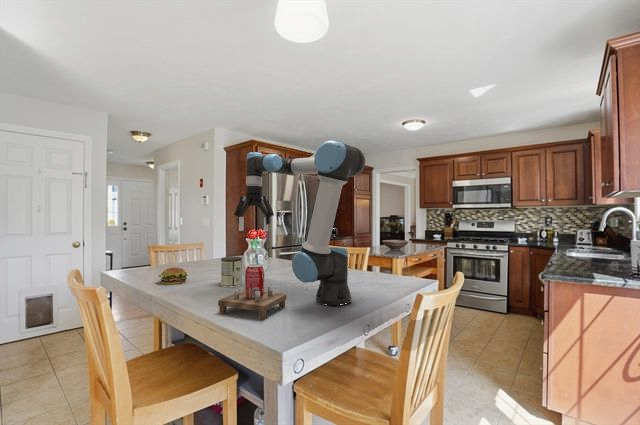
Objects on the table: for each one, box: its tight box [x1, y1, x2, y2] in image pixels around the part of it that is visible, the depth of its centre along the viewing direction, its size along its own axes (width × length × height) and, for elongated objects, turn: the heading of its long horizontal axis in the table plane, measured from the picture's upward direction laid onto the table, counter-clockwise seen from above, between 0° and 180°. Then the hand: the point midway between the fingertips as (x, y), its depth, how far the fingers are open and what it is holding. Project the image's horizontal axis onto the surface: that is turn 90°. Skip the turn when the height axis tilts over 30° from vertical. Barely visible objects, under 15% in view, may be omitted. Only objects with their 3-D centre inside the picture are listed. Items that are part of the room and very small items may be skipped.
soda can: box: [244, 263, 265, 299], centre depth 117 cm, size 7×7×12 cm
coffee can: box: [220, 256, 243, 288], centre depth 159 cm, size 10×10×14 cm
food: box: [157, 266, 188, 286], centre depth 164 cm, size 14×14×8 cm
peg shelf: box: [217, 285, 287, 321], centre depth 117 cm, size 19×17×8 cm
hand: (253, 231), depth 145 cm, fingers open, 13 cm apart
